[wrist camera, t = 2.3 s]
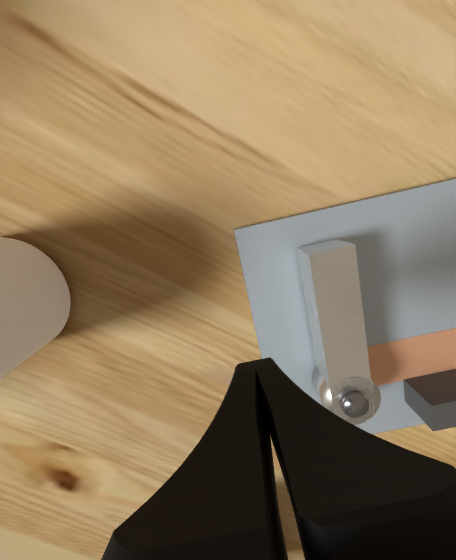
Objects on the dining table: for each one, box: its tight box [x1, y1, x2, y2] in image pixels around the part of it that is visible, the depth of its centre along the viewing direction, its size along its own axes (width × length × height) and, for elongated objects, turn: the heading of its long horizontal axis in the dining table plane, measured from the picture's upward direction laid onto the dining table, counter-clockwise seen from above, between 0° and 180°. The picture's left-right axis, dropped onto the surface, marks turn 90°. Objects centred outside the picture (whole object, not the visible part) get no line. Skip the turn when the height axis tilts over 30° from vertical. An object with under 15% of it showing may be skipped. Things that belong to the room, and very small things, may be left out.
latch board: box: [233, 178, 456, 434], centre depth 19 cm, size 18×18×4 cm
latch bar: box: [296, 239, 381, 425], centre depth 18 cm, size 12×4×3 cm, turn 13°
